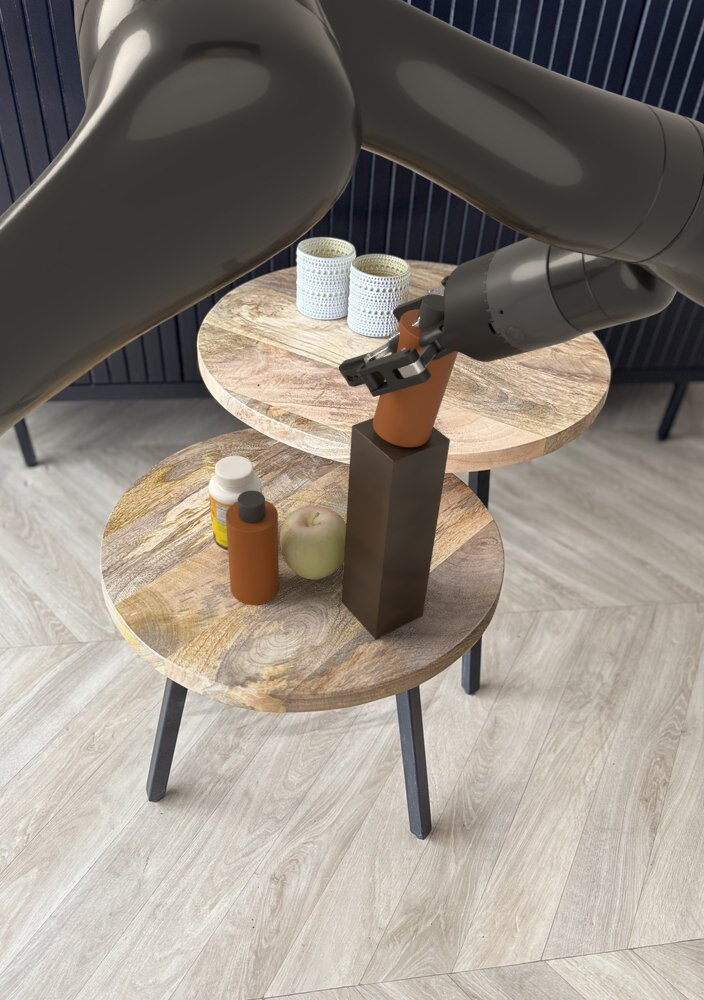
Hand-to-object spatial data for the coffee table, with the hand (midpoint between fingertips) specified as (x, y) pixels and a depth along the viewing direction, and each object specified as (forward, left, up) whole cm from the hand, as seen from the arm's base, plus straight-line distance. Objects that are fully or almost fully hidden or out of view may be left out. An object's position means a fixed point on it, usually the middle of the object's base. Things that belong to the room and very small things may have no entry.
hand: (373, 346), depth 69 cm
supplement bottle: (-8, +11, -27) cm, 31 cm away
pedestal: (-1, -6, -27) cm, 28 cm away
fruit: (-3, +3, -27) cm, 28 cm away
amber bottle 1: (-10, +4, -27) cm, 29 cm away
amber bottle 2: (-1, -6, -5) cm, 8 cm away
